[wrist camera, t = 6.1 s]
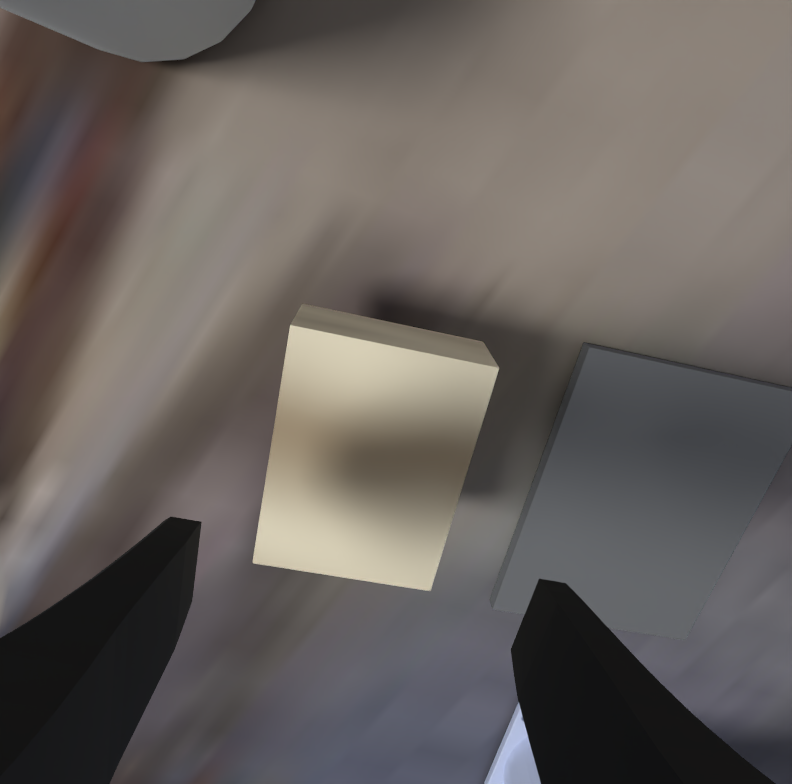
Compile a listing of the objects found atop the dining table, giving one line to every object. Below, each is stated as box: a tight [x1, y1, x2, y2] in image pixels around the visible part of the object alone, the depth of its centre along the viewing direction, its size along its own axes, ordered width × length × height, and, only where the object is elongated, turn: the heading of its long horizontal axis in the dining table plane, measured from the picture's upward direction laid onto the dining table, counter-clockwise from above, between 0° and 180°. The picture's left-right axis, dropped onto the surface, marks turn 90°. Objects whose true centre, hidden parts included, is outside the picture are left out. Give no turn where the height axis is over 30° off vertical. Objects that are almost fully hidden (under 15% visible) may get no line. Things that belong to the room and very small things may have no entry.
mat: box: [490, 343, 792, 640], centre depth 22 cm, size 12×9×1 cm
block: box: [253, 304, 499, 591], centre depth 17 cm, size 8×6×2 cm
